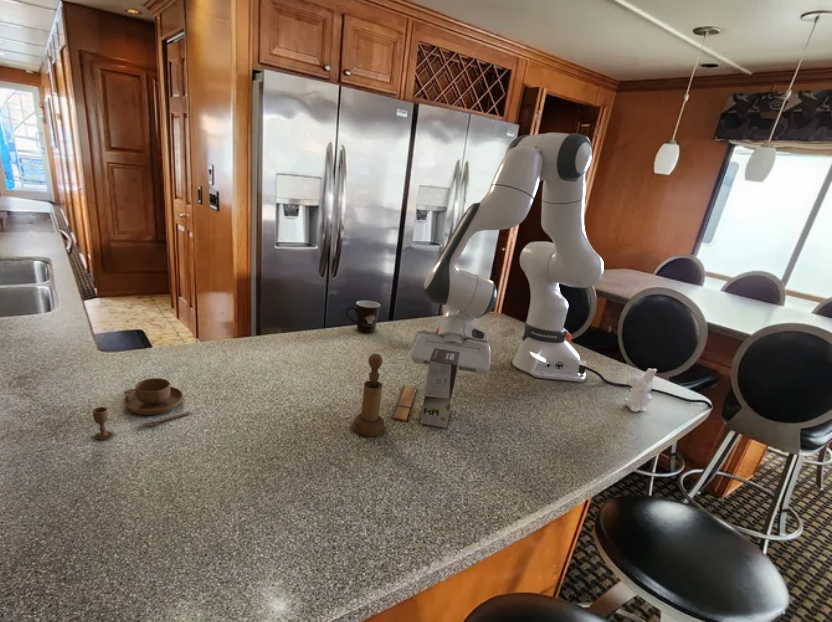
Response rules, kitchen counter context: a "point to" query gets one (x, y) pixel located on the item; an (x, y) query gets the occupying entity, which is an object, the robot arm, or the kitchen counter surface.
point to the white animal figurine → (640, 390)
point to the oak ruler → (405, 403)
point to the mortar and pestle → (371, 402)
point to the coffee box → (440, 387)
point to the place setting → (144, 402)
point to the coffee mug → (366, 316)
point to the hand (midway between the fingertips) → (446, 383)
